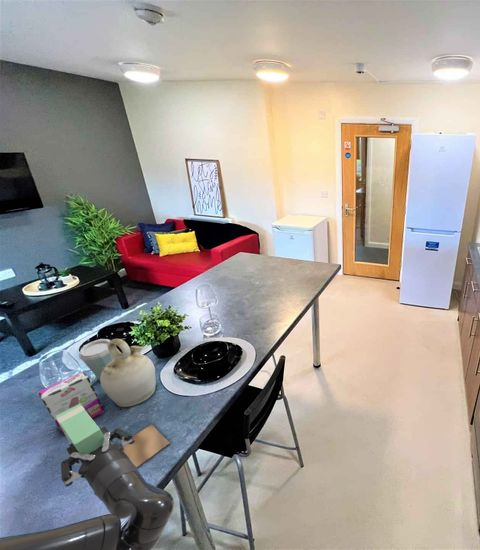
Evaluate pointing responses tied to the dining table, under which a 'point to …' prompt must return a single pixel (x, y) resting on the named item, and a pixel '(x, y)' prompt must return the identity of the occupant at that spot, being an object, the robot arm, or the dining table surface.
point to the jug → (128, 375)
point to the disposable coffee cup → (96, 356)
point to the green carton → (80, 429)
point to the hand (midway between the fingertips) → (86, 438)
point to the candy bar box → (71, 397)
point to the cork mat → (145, 445)
